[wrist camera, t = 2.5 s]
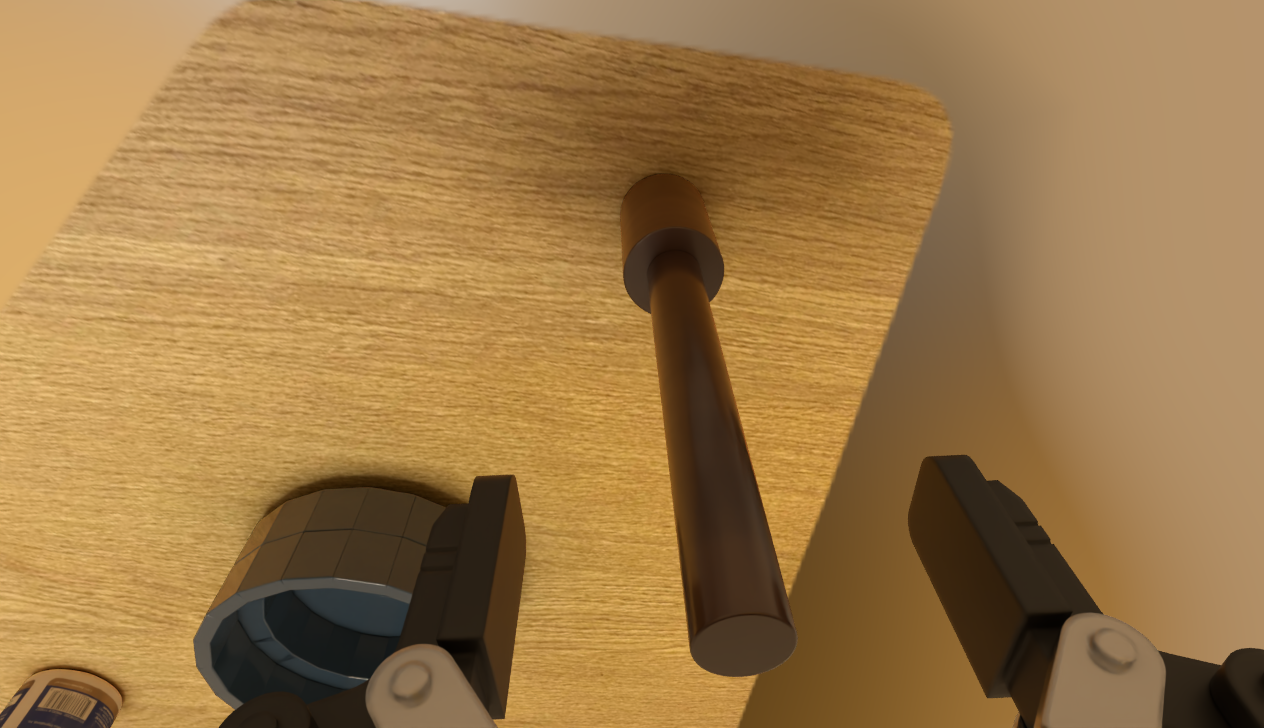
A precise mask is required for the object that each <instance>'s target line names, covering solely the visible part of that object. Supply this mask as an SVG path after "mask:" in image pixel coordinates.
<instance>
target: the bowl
mask: <svg viewBox="0 0 1264 728" xmlns="http://www.w3.org/2000/svg"><path fill="white" fill-rule="evenodd" d="M445 509H446V507H444V506H442V505H439V504H437V503H434V502H432V501H429V500H427V499H424V498H422V497H419V496H416V495H415V494H409V493H403V492H397V491H391V490H385V489H380V488H374V487H357V488H338V489H325V490H324V489H323V490H320V491H317V492H314V493H311V494H308V495H304V496H301V497H298V498H295V499H292V500H289V501H286V502H285V503H283V504H282V505H281V506H279V507H278V508H276V509H275V510H274V511H272V512H271V513H270V514H268V515H267V516H266V517H264V518H263V519H262V520H260V521H259V522H258V523H257V525H256V527H255V528H254V530H253V532H252V534H251V535H250V537H249V539H248V541H247V542H246V544H245V546H244V548H243V550H242V551H241V553H240V555H239V557H238V558H237V560H236V562H235V564H234V566H233V567H232V569H231V571H230V573H229V574H228V576H227V578H226V580H225V582H224V583H223V585H222V587H221V589H220V590H219V592H218V594H217V596H216V597H215V599H214V601H213V603H212V605H211V606H210V608H209V610H208V612H207V613H206V615H205V617H204V619H203V621H202V623H201V625H200V627H199V629H198V631H197V633H196V635H195V637H194V639H193V642H194V650H195V659H196V667H197V668H198V670H199V672H200V673H201V675H202V676H203V677H204V679H205V680H206V682H207V683H208V685H209V686H210V688H211V689H212V690H213V692H214V693H215V695H216V696H218V697H219V698H220V699H222V700H223V701H224V702H226V703H227V704H228V705H230V706H231V707H232V708H234V709H235V710H236V709H237V708H239V707H240V706H241V705H243V704H244V703H246V702H248V701H249V700H251V699H253V698H255V697H258V696H260V695H263V694H266V693H271V692H289V693H293V694H295V695H297V696H298V697H300V698H301V699H302V700H303V701H304V702H305V703H306V705H307V704H309V703H312V702H315V701H318V700H321V699H324V698H326V697H329V696H332V695H335V694H338V693H341V692H343V691H346V690H349V689H351V688H354V687H356V686H358V685H360V684H362V683H364V682H365V681H367V680H368V679H370V678H371V676H372V675H373V673H374V672H375V670H376V669H377V668H378V667H379V665H380V664H381V663H382V662H383V661H384V660H386V659H387V658H388V657H389V656H391V655H392V654H393V653H394V651H395V649H396V647H397V645H398V642H399V639H400V635H401V632H402V628H403V625H404V621H405V618H406V615H407V611H408V608H409V604H410V601H411V597H412V594H413V590H414V587H415V583H416V580H417V576H418V573H419V572H420V566H421V563H422V559H423V556H424V553H426V545H427V542H428V538H429V535H430V531H431V528H432V525H433V524H434V522H435V521H436V520H437V519H438V517H439V516H440V515H441V514H442V512H443V511H444V510H445Z"/></svg>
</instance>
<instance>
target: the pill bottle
mask: <svg viewBox="0 0 1264 728" xmlns="http://www.w3.org/2000/svg"><path fill="white" fill-rule="evenodd" d="M121 707H122V698H121V695H120V694H119V692H118V691H117V689H116V688H114V686H112V685H111V684H109V683H108V682H107V681H105V680H103V679H101V678H99V677H97V676H95V675H92V674H89V673H86V672H81V671H76V670H67V669H53V670H45V671H42V672H38V673H36V674H34V675H32V676H31V677H30V678H28V679H27V680H26V681H25V682H24V684H23V685H22V687H21V688H20V689H19V690H18V691H17V693H16V694H15V695H14V696H13V698H12V699H11V700H10V702H9V703H8V705H7V706H6V707H5V709H4V710H3V712H2V713H1V714H0V728H110V727H111V725H112V724H113V722H114V720H115V718H116V716H117V715H118V713H119V711H120V710H121Z"/></svg>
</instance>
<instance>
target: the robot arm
mask: <svg viewBox="0 0 1264 728" xmlns="http://www.w3.org/2000/svg"><path fill="white" fill-rule="evenodd" d="M908 526H909V531H910V536H911V539H912V542H913V545H914V547H915V549H916V551H917V553H918V555H919V557H920V559H921V561H922V564H923V566H924V568H925V570H926V572H927V574H928V576H929V578H930V580H931V582H932V584H933V586H934V589H935V591H936V593H937V595H938V597H939V599H940V601H941V603H942V605H943V607H944V609H945V611H946V614H947V616H948V618H949V620H950V622H951V624H952V626H953V628H954V630H955V632H956V634H957V637H958V638H959V641H960V643H961V645H962V647H963V649H964V651H965V653H966V655H967V657H968V659H969V662H970V664H971V666H972V668H973V670H974V672H975V674H976V676H977V678H978V680H979V682H980V684H981V687H982V689H983V691H984V693H985V695H986V697H987V698H1003V697H1012V699H1013V701H1014V703H1015V705H1016V707H1017V709H1018V711H1019V712H1018V714H1017V716H1016V718H1015V721H1014V725H1013V728H1264V650H1262V649H1255V648H1245V649H1239V650H1236V651H1234V652H1232V653H1231V654H1230V655H1229V656H1228V657H1227V659H1226V660H1225V661H1224V663H1223V664H1222V665H1217V664H1213V663H1208V662H1203V661H1199V660H1195V659H1190V658H1186V657H1182V656H1177V655H1173V654H1169V653H1165V652H1162V651H1158V650H1157V649H1156V648H1155V646H1154V645H1153V644H1152V643H1151V642H1150V641H1149V640H1148V639H1147V638H1146V637H1145V636H1144V635H1143V634H1141V633H1140V632H1139V631H1137V630H1136V629H1135V628H1133V627H1131V626H1130V625H1128V624H1126V623H1124V622H1122V621H1120V620H1118V619H1116V618H1113V617H1110V616H1107V615H1104V614H1103V613H1102V612H1101V611H1100V609H1099V608H1098V606H1097V605H1096V604H1095V602H1094V601H1093V599H1092V598H1091V596H1090V595H1089V594H1088V592H1087V591H1086V589H1085V588H1084V587H1083V585H1082V584H1081V582H1080V581H1079V579H1078V578H1077V577H1076V575H1075V574H1074V572H1073V571H1072V569H1071V568H1070V567H1069V565H1068V564H1067V562H1066V561H1065V559H1064V558H1063V557H1062V555H1061V554H1060V552H1059V551H1058V550H1057V548H1056V547H1055V545H1054V544H1051V542H1050V538H1049V537H1048V535H1047V534H1046V532H1045V531H1044V529H1043V528H1042V527H1041V526H1038V521H1037V520H1036V518H1035V517H1034V515H1033V514H1032V513H1031V511H1030V510H1029V508H1028V507H1027V505H1026V504H1025V502H1024V501H1023V500H1022V499H1021V498H1020V497H1019V496H1017V495H1016V494H1015V493H1014V492H1012V491H1011V490H1010V489H1008V488H1007V487H1006V486H1004V485H1003V484H1002V483H1000V482H999V481H998V480H993V481H986V479H985V478H984V476H983V475H982V473H981V472H980V470H979V469H978V468H977V466H976V464H975V463H974V462H973V460H972V459H971V458H970V457H969V456H967V455H951V456H931V457H926V458H925V459H924V460H923V461H922V464H921V467H920V471H919V475H918V479H917V482H916V486H915V490H914V494H913V497H912V501H911V505H910V509H909V514H908ZM525 557H526V534H525V526H524V520H523V515H522V509H521V504H520V498H519V492H518V487H517V482H516V478H515V475H492V476H477V477H476V478H475V479H474V482H473V486H472V490H471V495H470V499H469V503H468V504H449V505H448V506H447V507H446V509H445V510H444V511H443V512H442V514H441V515H440V516H439V517H438V519H437V520H436V521H435V522H434V524H433V525H432V528H431V531H430V535H429V538H428V542H427V545H426V553H424V556H423V559H422V563H421V566H420V572H419V573H418V576H417V580H416V583H415V587H414V590H413V594H412V597H411V601H410V604H409V608H408V611H407V615H406V618H405V621H404V625H403V628H402V632H401V635H400V639H399V642H398V645H397V647H396V649H395V651H394V653H393V654H392V655H391V656H389V657H388V658H387V659H386V660H384V661H383V662H382V663H381V664H380V665H379V667H378V668H377V669H376V670H375V672H374V673H373V675H372V676H371V678H370V679H368V680H367V681H365V682H364V683H362V684H360V685H358V686H356V687H354V688H351V689H349V690H346V691H343V692H341V693H338V694H335V695H332V696H329V697H326V698H324V699H321V700H318V701H315V702H312V703H309V704H307V705H306V703H305V702H304V701H303V700H302V699H301V698H300V697H298V696H297V695H295V694H293V693H289V692H271V693H266V694H263V695H260V696H258V697H255V698H253V699H251V700H249V701H248V702H246V703H244V704H243V705H241V706H240V707H239V708H237V709H236V710H235V711H233V712H232V713H231V714H230V715H229V716H228V717H227V718H226V719H225V720H224V722H223V723H222V724H221V725H220V726H219V728H498V727H497V726H496V724H495V723H494V721H493V720H492V719H505V712H506V704H507V696H508V689H509V681H510V673H511V666H512V658H513V650H514V643H515V635H516V627H517V620H518V612H519V604H520V597H521V589H522V581H523V573H524V566H525Z"/></svg>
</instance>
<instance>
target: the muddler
mask: <svg viewBox="0 0 1264 728" xmlns="http://www.w3.org/2000/svg"><path fill="white" fill-rule="evenodd" d="M620 222H621V242H622V262H623V278H624V284H625V288H626V290H627V292H628V294H629V296H630V297H631V299H632V300H633V301H634V302H635V303H636V304H637V305H638V306H639V307H640V308H642V309H643V310H644V311H646V312H648V313H650V314H651V316H652V324H653V333H654V342H655V350H656V359H657V368H658V377H659V385H660V394H661V403H662V411H663V420H664V429H665V438H666V446H667V455H668V464H669V472H670V481H671V490H672V499H673V507H674V516H675V525H676V533H677V542H678V551H679V560H680V568H681V577H682V586H683V594H684V603H685V612H686V621H687V629H688V638H689V647H690V653H691V656H692V657H693V659H694V661H695V662H696V663H697V664H698V665H699V666H700V667H701V668H703V669H705V670H707V671H709V672H711V673H714V674H717V675H722V676H729V677H743V676H752V675H757V674H761V673H763V672H767V671H769V670H771V669H774V668H776V667H778V666H779V665H781V664H782V663H784V662H785V661H786V660H787V659H788V658H789V657H790V656H791V655H792V654H793V652H794V650H795V648H796V645H797V639H798V637H797V632H796V628H795V624H794V620H793V617H792V613H791V609H790V605H789V601H788V598H787V594H786V590H785V586H784V582H783V579H782V575H781V571H780V567H779V564H778V560H777V556H776V552H775V548H774V545H773V541H772V537H771V533H770V530H769V526H768V522H767V518H766V514H765V511H764V507H763V503H762V499H761V496H760V492H759V488H758V484H757V481H756V477H755V473H754V469H753V465H752V462H751V458H750V454H749V450H748V447H747V443H746V439H745V435H744V431H743V428H742V424H741V420H740V416H739V413H738V409H737V405H736V401H735V397H734V394H733V390H732V386H731V382H730V379H729V375H728V371H727V367H726V363H725V360H724V356H723V352H722V348H721V345H720V341H719V337H718V333H717V329H716V326H715V322H714V318H713V314H712V311H711V307H710V303H709V302H710V301H711V300H712V299H713V298H714V297H715V296H716V294H717V292H718V291H719V289H720V287H721V284H722V281H723V277H724V263H723V258H722V255H721V252H720V249H719V246H718V243H717V240H716V237H715V234H714V231H713V228H712V225H711V222H710V219H709V216H708V213H707V211H706V208H705V205H704V202H703V199H702V196H701V194H700V193H699V191H698V190H697V188H696V187H695V186H694V185H693V184H692V183H690V182H689V181H688V180H686V179H684V178H682V177H680V176H677V175H673V174H656V175H652V176H649V177H646V178H644V179H642V180H641V181H639V182H638V183H636V184H635V185H634V186H633V187H632V188H631V189H630V190H629V192H628V193H627V195H626V196H625V198H624V200H623V203H622V206H621V212H620Z"/></svg>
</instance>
